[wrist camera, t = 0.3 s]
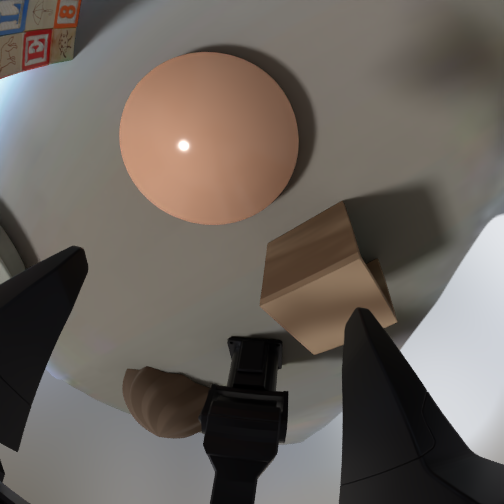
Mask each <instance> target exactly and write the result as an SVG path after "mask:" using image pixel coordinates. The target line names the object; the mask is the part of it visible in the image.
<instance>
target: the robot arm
mask: <svg viewBox="0 0 504 504" xmlns="http://www.w3.org/2000/svg"><path fill="white" fill-rule="evenodd" d="M87 273H88V263H87V259H86V255H85V251H84V249H83V248H81V247H78V246H71V247H69V248H67V249H65V250H63V251H61V252H59V253H57V254H55V255H53V256H51V257H49V258H47V259H45V260H43V261H41V262H39V263H37V264H36V265H34V266H32V267H30V268H28V269H26V270H24V271H23V272H21V273H19V274H17V275H15V276H14V277H12V278H10V279H8V280H7V281H5V282H3V283H1V284H0V443H1V444H3V445H5V446H7V447H8V448H10V449H12V450H14V451H16V452H18V450H19V447H20V443H21V439H22V435H23V432H24V428H25V425H26V422H27V418H28V415H29V412H30V409H31V405H32V403H33V400H34V397H35V394H36V391H37V388H38V386H39V383H40V380H41V378H42V375H43V373H44V370H45V368H46V365H47V363H48V361H49V358H50V356H51V354H52V351H53V349H54V347H55V344H56V342H57V340H58V338H59V336H60V334H61V331H62V329H63V327H64V325H65V323H66V321H67V319H68V317H69V315H70V313H71V311H72V309H73V306H74V304H75V302H76V299H77V297H78V294H79V292H80V289H81V287H82V285H83V282H84V280H85V278H86V275H87ZM227 343H228V347H229V351H230V355H231V359H232V362H231V368H230V373H229V378H228V383H227V386H219V385H217V384H212V387H211V389H209V391H208V396H207V399H206V402H205V405H204V407H203V409H202V410H201V412H200V414H199V417H198V420H199V421H200V423H201V430H202V433H203V434H205V436H204V443H203V446H204V449H205V451H206V453H207V455H208V457H209V459H210V461H211V464H212V466H213V468H214V470H215V478H214V483H213V489H212V495H211V500H210V504H254V501H255V493H256V486H257V479H258V478H259V476H260V475H261V474H262V473H263V472H264V471H265V469H266V468H267V467H268V466H269V465H270V463H271V462H272V461H273V460H274V458H275V456H276V455H277V452H278V443H284V442H285V438H286V431H287V420H288V391H284V392H278V391H276V383H277V371H278V369H281V368H282V341H280V340H261V339H243V338H229V339H228V342H227ZM342 394H343V439H342V440H343V441H342V468H341V486H340V496H339V504H504V465H503V464H500V463H497V462H494V461H491V460H488V459H485V458H482V457H480V456H478V455H476V454H475V453H474V452H472V451H471V450H470V449H469V448H468V446H467V445H466V444H465V442H464V441H463V440H462V438H461V437H460V436H459V434H458V433H457V432H456V431H455V429H454V428H453V427H452V425H451V424H450V423H449V421H448V420H447V418H446V417H445V416H444V414H443V413H442V412H441V410H440V409H439V407H438V406H437V404H436V403H435V402H434V400H433V398H432V397H431V396H430V394H429V392H427V390H426V388H425V387H424V385H423V384H422V382H421V381H420V379H419V378H418V376H417V375H416V373H415V372H414V370H413V369H412V367H411V366H410V365H409V363H408V362H407V360H406V359H405V358H404V356H403V355H402V353H401V352H400V350H399V349H398V348H397V346H396V345H395V343H394V342H393V341H392V339H391V338H390V337H389V335H388V334H387V333H386V331H385V330H384V328H383V327H382V326H381V324H380V323H379V322H378V320H377V319H376V318H375V316H374V315H373V314H372V312H371V311H370V310H369V309H367V308H361V307H357V308H356V309H355V310H354V311H353V313H352V315H351V316H350V318H349V319H348V321H347V323H346V325H345V330H344V348H343V363H342ZM4 475H5V472H4V470H3V467H2V464H1V461H0V504H30V503H28V502H27V501H26V500H24V499H23V498H21V497H20V496H19V495H17V494H16V493H15V492H13V491H12V490H11V489H9V488H8V487H7V486H6V485H4V484H3V483H2V482H3V479H4Z"/></svg>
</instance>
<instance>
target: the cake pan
mask: <svg viewBox="0 0 504 504" xmlns="http://www.w3.org/2000/svg"><path fill="white" fill-rule="evenodd" d="M24 270H26V269H25V266H24V264H23V262H22V260H21V258H20V256H19V254H18V252H17V250H16V248H15V247H14V245H13V243H12V242H11V240H10V238H9V237H8V235H7V234H6V232H5V231H4V229H3V228H2V227H1V225H0V284H1V283H3V282H5V281H7V280H8V279H10V278H12V277H14V276H15V275H17V274H19V273H21V272H23V271H24Z"/></svg>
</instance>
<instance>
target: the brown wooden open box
mask: <svg viewBox="0 0 504 504" xmlns="http://www.w3.org/2000/svg"><path fill="white" fill-rule="evenodd" d="M260 307H261V308H262V309H263V310H264V311H265V312H267V313H268V314H269V315H270V316H271V317H272V318H273V319H274V320H275V321H276V322H278V323H279V324H280V325H281V326H282V327H283V328H284V329H285V330H286V331H288V332H289V333H290V334H291V335H292V336H293V337H294V338H295V339H297V340H298V341H299V342H300V343H301V344H302V345H303V346H305V347H306V348H307V349H308V350H309V351H310V352H311V353H313V354H314V355H315V354H318V353H321V352H324V351H327V350H330V349H333V348H335V347H338V346H341V345H343V344H344V330H345V325H346V323H347V321H348V319H349V318H350V316H351V315H352V313H353V311H354V310H355V309H356V308H357V307H361V308H367V309H369V310H370V311H371V312H372V314H373V315H374V316H375V318H376V319H377V320H378V322H379V323H380V324H381V326H382V327H383V328H386V327H388V326H390V325H392V324H395V323H397V318H396V315H395V311H394V308H393V304H392V301H391V297H390V294H389V291H388V288H387V284H386V281H385V278H384V275H383V272H382V269H381V266H380V263H379V261H378V259H375V260H373V261H371V262H370V263H368V264H365V262H364V261H363V259H362V257H361V255H360V252H359V248H358V245H357V241H356V238H355V235H354V232H353V228H352V225H351V222H350V219H349V216H348V213H347V210H346V207H345V204H344V203H343V201H341V202H339V203H337V204H336V205H334V206H332V207H330V208H329V209H327V210H325V211H323V212H322V213H320V214H318V215H316V216H315V217H313V218H311V219H309V220H308V221H306V222H304V223H303V224H301V225H299V226H297V227H296V228H294V229H292V230H290V231H289V232H287V233H285V234H283V235H282V236H280V237H278V238H276V239H275V240H273V241H271V242H269V243H268V245H267V253H266V261H265V268H264V276H263V284H262V292H261V299H260Z"/></svg>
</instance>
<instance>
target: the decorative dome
mask: <svg viewBox="0 0 504 504" xmlns="http://www.w3.org/2000/svg"><path fill="white" fill-rule="evenodd" d="M209 389H211V388H209V387H206V386H203V385H200V384H197V383H195V382H193V381H192V380H190V379H189V378H187V377H186V376H184V375H182V374H175V373H166V372H163V371H160V370H157V369H154V368H152V367H148V366H146V367H144V368H142V369H141V370H136V369H127V371H126V373H125V376H124V380H123V396H124V400H125V402H126V405H127V407H128V409H129V411H130V412H131V414H132V416H133V417H134V418H135V419H136V421H137V422H138V423H139V424H140V425H142V426H143V427H144V428H145V429H147V430H148V431H150V432H151V433H153V434H155V435H157V436H159V437H164V438H185V437H188V436H191V435H194V434H195V433H198V432H201V431H202V430H201V423H200V421H199V420H198V417H199V414H200V412H201V410H202V409H203V407H204V405H205V402H206V399H207V396H208V391H209Z"/></svg>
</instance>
